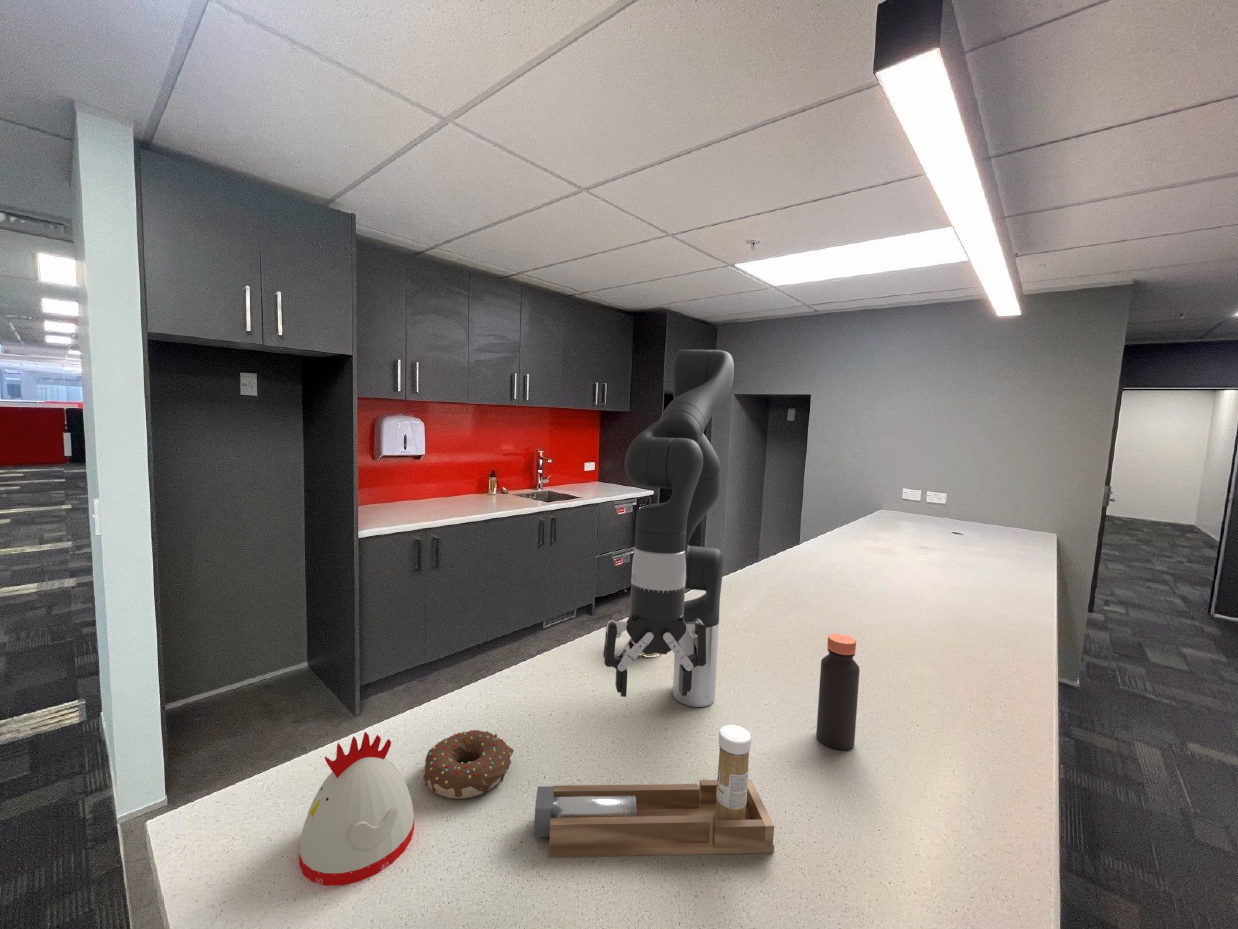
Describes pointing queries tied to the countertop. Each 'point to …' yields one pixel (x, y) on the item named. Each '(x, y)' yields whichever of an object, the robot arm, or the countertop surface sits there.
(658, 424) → the robot arm
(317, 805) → the kitchen timer
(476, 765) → the donut
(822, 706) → the vinegar
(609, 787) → the tray
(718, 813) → the sprinkles bottle
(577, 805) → the shaft
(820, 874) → the countertop surface
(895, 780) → the countertop surface
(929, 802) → the countertop surface
